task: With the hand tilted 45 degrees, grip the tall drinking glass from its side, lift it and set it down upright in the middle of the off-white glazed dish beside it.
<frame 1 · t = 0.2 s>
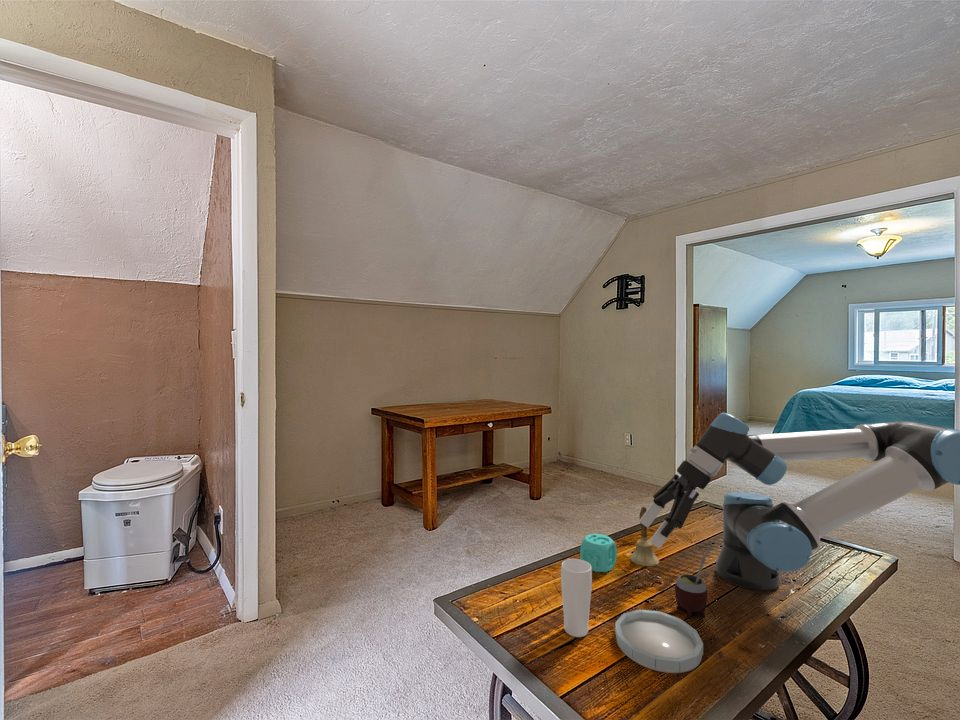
hand: (648, 534, 116), 16 cm above the table, tool tilted 35°, fingers open, 13 cm apart
dish: (657, 644, 97), on the table
drinking glass: (576, 632, 101), on the table
decorative dice: (598, 566, 132), on the table
hand bell: (644, 560, 135), on the table
mate gourd: (692, 612, 109), on the table
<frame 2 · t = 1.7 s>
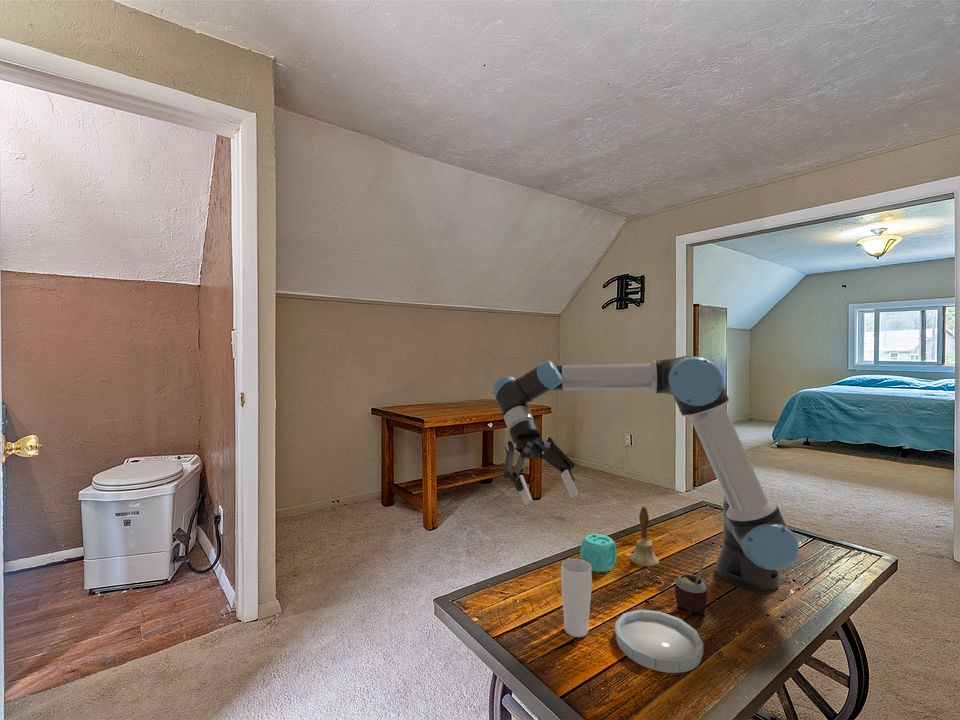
hand: (552, 498, 110), 27 cm above the table, tool tilted 45°, fingers open, 13 cm apart
nothing on the table moved.
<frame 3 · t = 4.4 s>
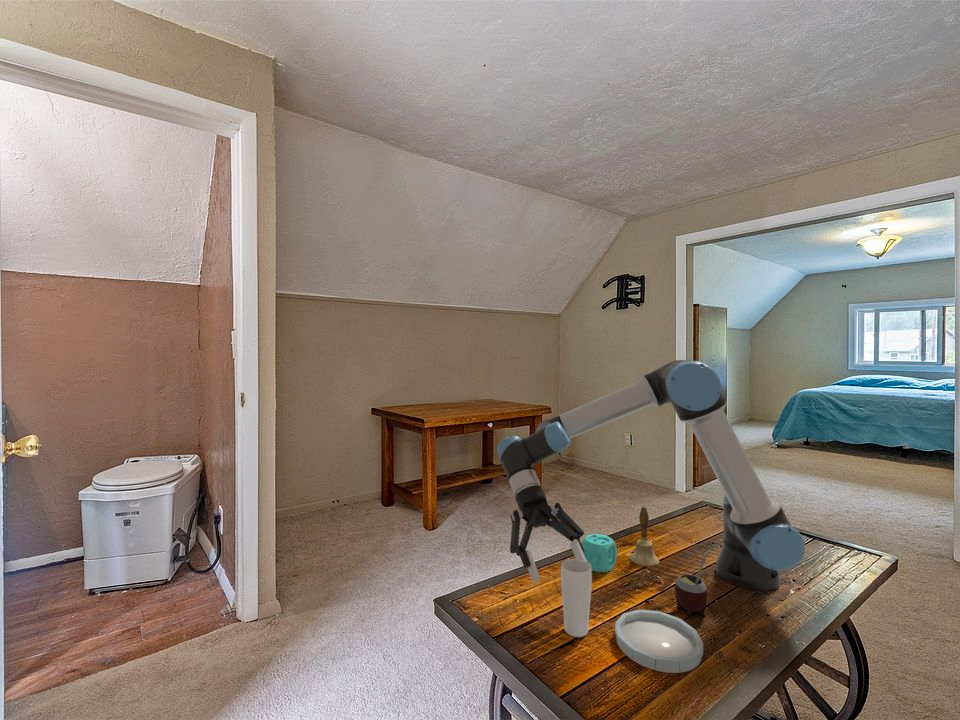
hand: (561, 574, 105), 11 cm above the table, tool tilted 45°, fingers open, 13 cm apart
nothing on the table moved.
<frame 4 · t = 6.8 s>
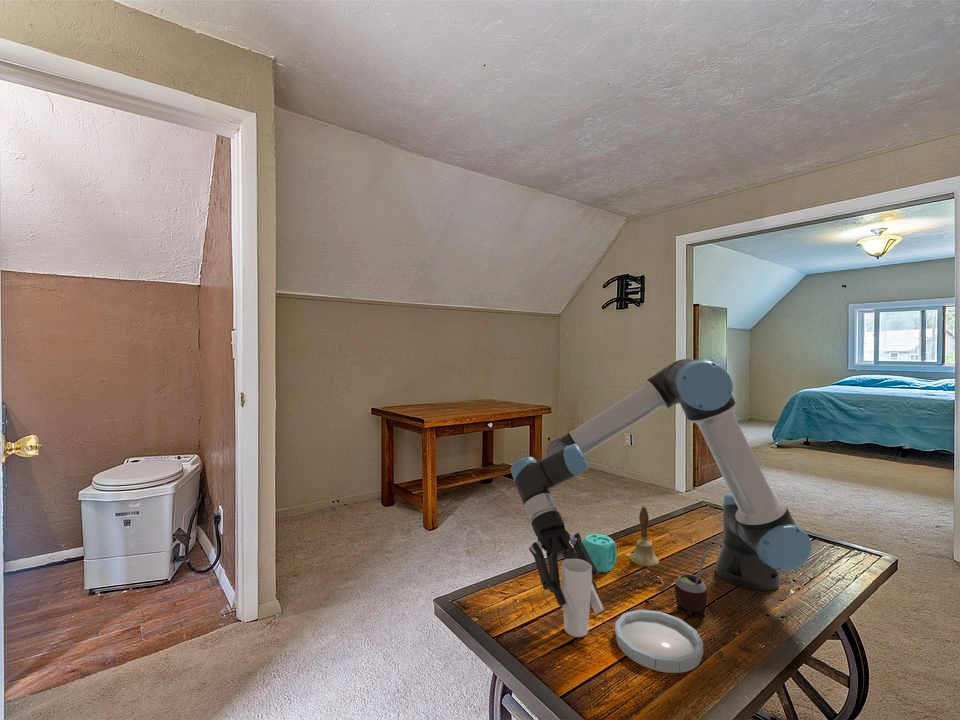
hand: (586, 615, 98), 5 cm above the table, tool tilted 45°, fingers closed on drinking glass, 7 cm apart
drinking glass: (576, 631, 101), on the table, touching gripper
everything else where it was.
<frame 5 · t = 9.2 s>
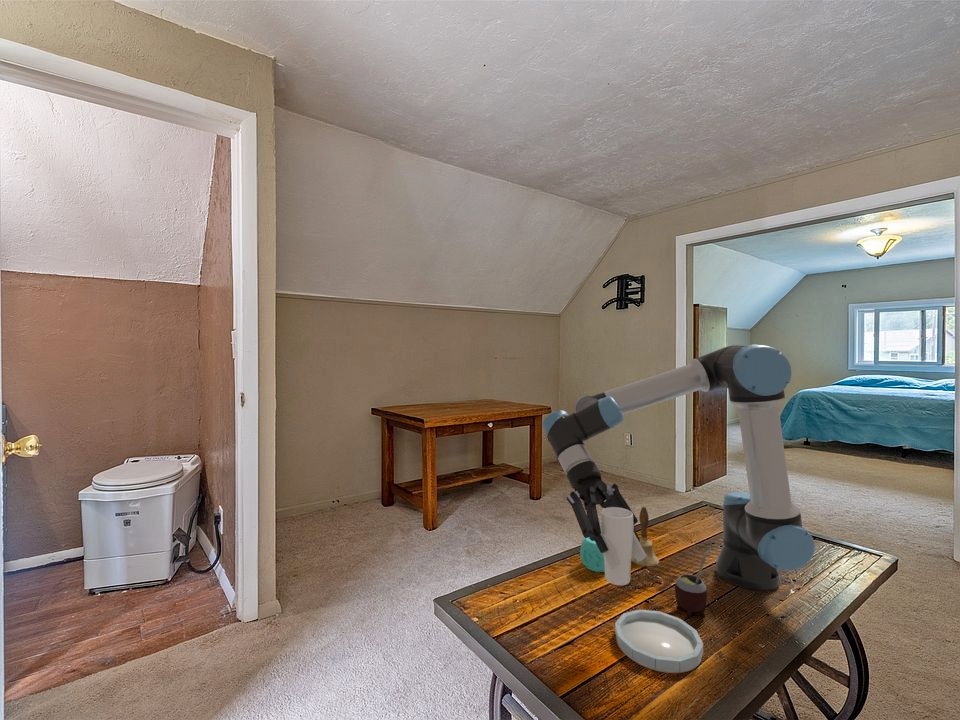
hand: (629, 562, 95), 18 cm above the table, tool tilted 45°, fingers closed on drinking glass, 7 cm apart
drinking glass: (617, 581, 98), point 13 cm above the table, touching gripper
everything else where it was.
when the fingers open (8 cm above the table, at t = 12.1 s): drinking glass drops 1 cm, resting on dish.
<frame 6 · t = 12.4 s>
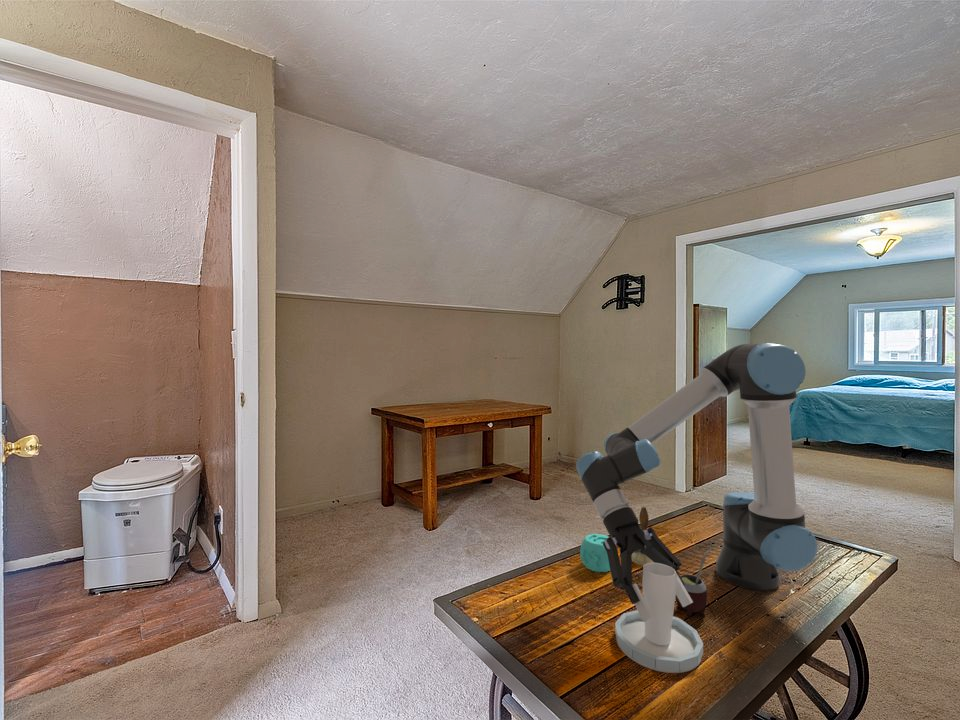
hand: (668, 611, 94), 9 cm above the table, tool tilted 45°, fingers open, 11 cm apart
drinking glass: (657, 640, 97), point 1 cm above the table, touching dish
everything else where it was.
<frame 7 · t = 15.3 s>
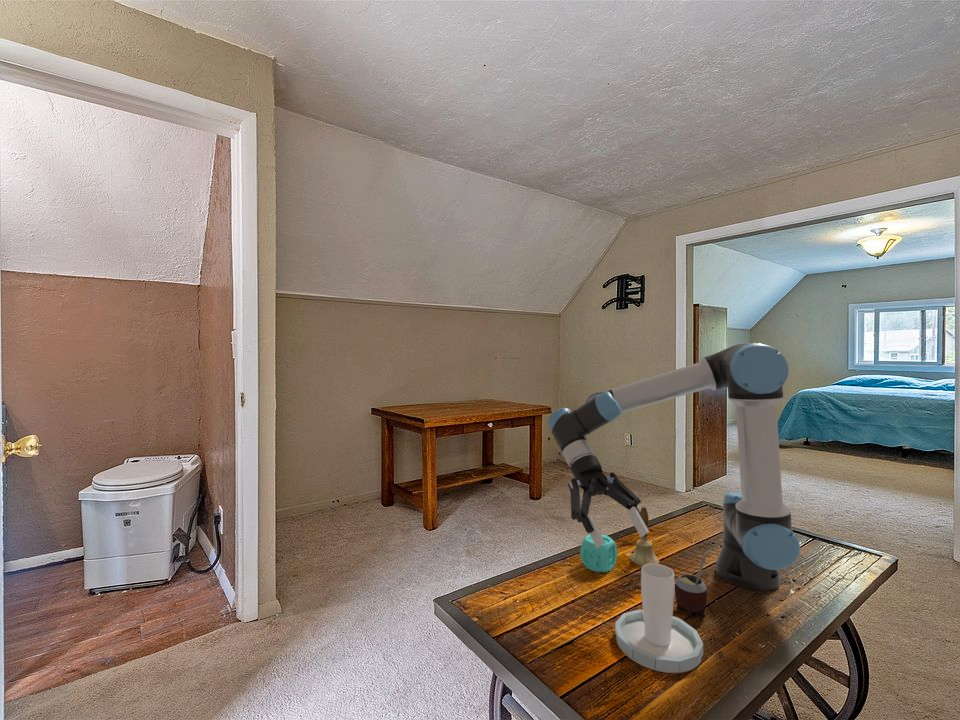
hand: (623, 539, 105), 19 cm above the table, tool tilted 45°, fingers open, 13 cm apart
nothing on the table moved.
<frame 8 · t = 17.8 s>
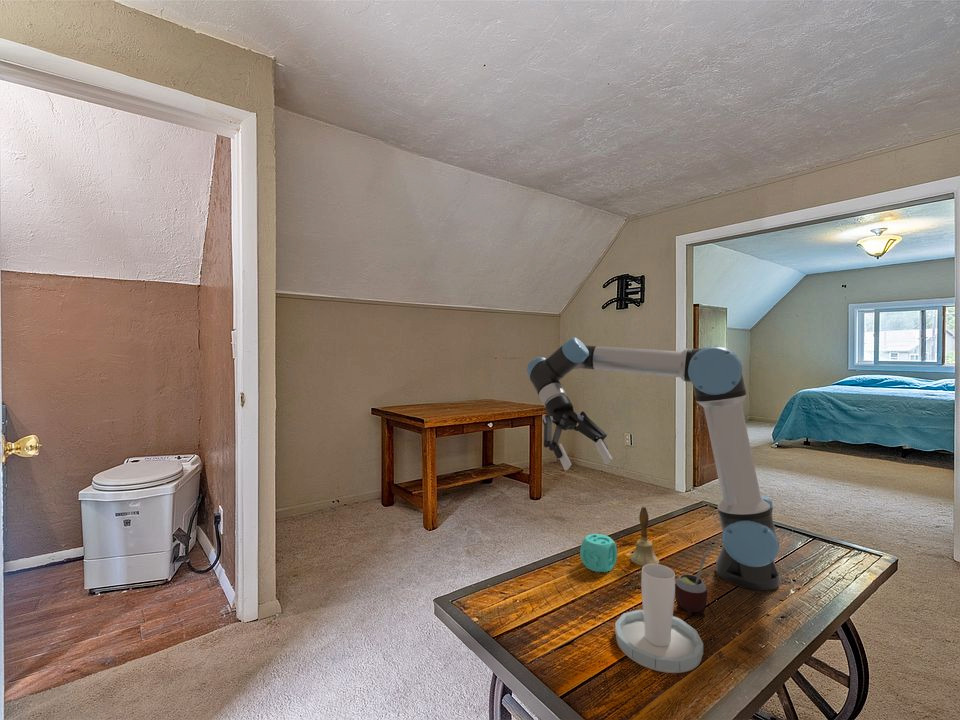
hand: (589, 464, 120), 33 cm above the table, tool tilted 45°, fingers open, 13 cm apart
nothing on the table moved.
at the end: drinking glass inside the target area on the dish (0.0 cm from its centre), point 0.8 cm above the dish's base; drinking glass tilted 1°; the gripper is holding nothing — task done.
